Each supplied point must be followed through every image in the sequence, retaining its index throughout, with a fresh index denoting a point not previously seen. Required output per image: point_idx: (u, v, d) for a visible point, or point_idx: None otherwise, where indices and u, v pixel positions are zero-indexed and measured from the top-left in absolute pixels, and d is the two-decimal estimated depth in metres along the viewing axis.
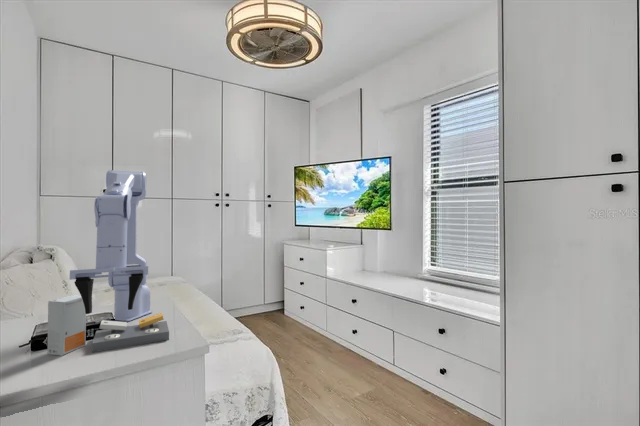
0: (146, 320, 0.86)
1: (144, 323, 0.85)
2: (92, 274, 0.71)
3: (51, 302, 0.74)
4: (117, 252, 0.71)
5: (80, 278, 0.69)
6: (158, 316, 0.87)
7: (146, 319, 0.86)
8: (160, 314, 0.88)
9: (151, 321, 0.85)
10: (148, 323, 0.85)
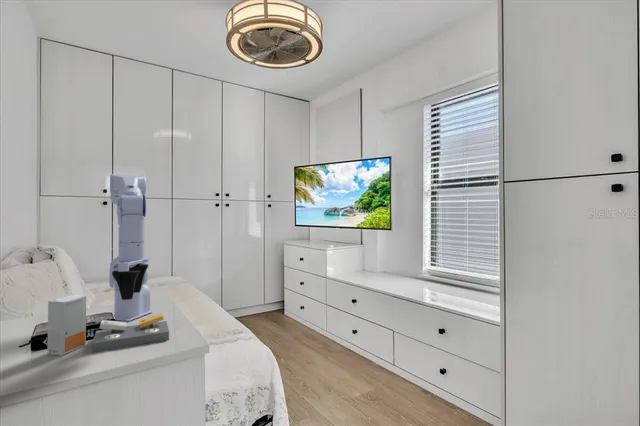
0: (146, 320, 0.86)
1: (144, 323, 0.85)
2: (128, 265, 0.81)
3: (51, 302, 0.74)
4: None
5: (129, 269, 0.79)
6: (158, 316, 0.87)
7: (146, 319, 0.86)
8: (160, 314, 0.88)
9: (151, 321, 0.85)
10: (148, 323, 0.85)
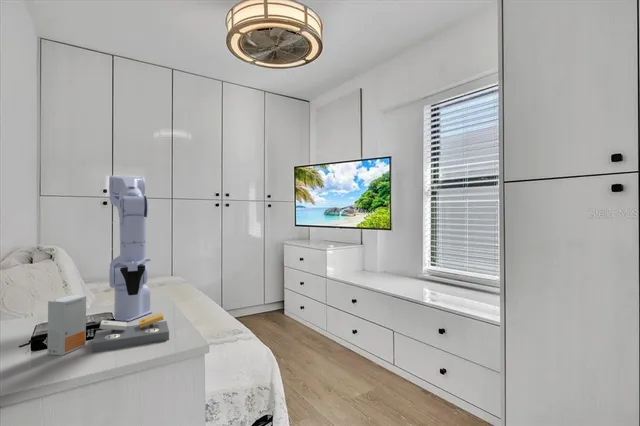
0: (146, 320, 0.86)
1: (144, 323, 0.85)
2: None
3: (51, 302, 0.74)
4: None
5: None
6: (158, 316, 0.87)
7: (146, 319, 0.86)
8: (160, 314, 0.88)
9: (151, 321, 0.85)
10: (148, 323, 0.85)
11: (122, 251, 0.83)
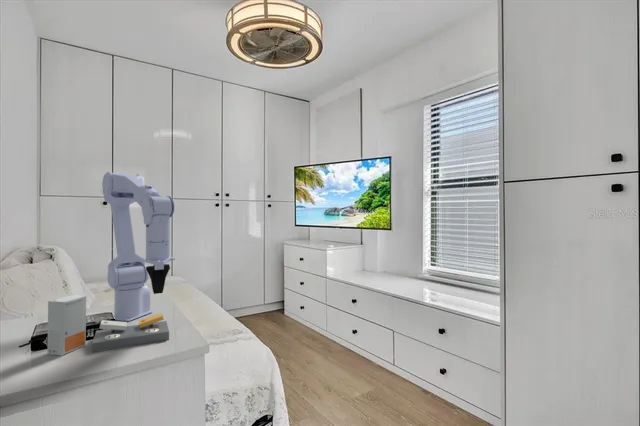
0: (146, 320, 0.86)
1: (144, 323, 0.85)
2: None
3: (51, 302, 0.74)
4: None
5: None
6: (158, 316, 0.87)
7: (146, 319, 0.86)
8: (160, 314, 0.88)
9: (151, 321, 0.85)
10: (148, 323, 0.85)
11: (148, 250, 0.85)
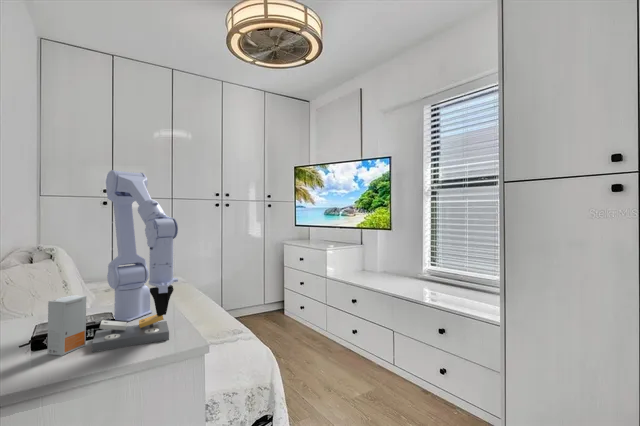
0: (146, 320, 0.86)
1: (144, 323, 0.85)
2: None
3: (51, 302, 0.74)
4: None
5: None
6: (158, 316, 0.87)
7: (146, 319, 0.86)
8: None
9: (151, 321, 0.85)
10: (148, 323, 0.85)
11: (151, 273, 0.85)
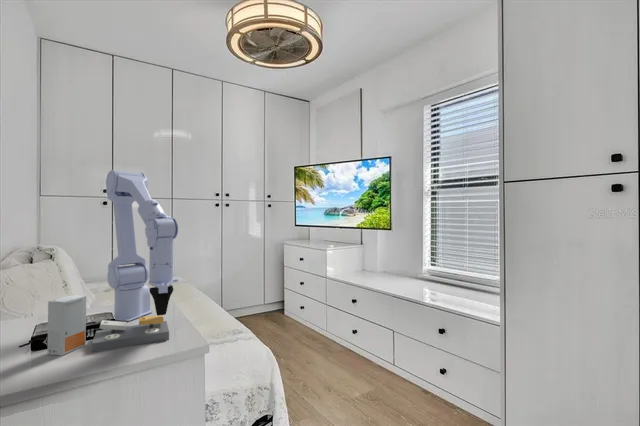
0: (147, 319, 0.86)
1: (144, 321, 0.85)
2: None
3: (51, 302, 0.74)
4: None
5: None
6: (159, 318, 0.87)
7: (147, 318, 0.86)
8: (161, 316, 0.88)
9: (151, 321, 0.85)
10: (148, 322, 0.85)
11: (151, 273, 0.85)
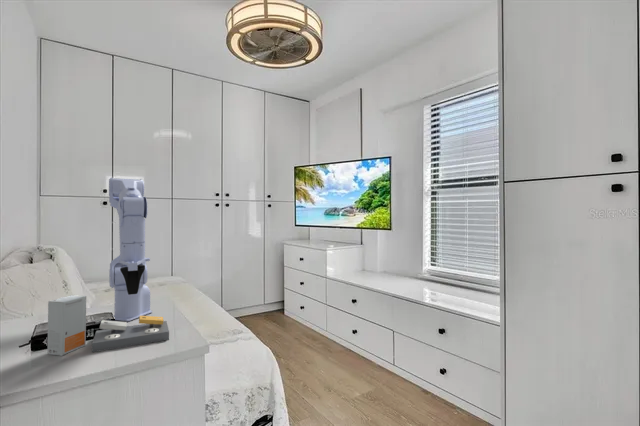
0: (147, 318, 0.86)
1: (144, 320, 0.85)
2: None
3: (51, 302, 0.74)
4: None
5: None
6: (159, 319, 0.87)
7: (147, 317, 0.87)
8: (161, 318, 0.88)
9: (151, 321, 0.85)
10: (148, 322, 0.85)
11: (122, 251, 0.85)
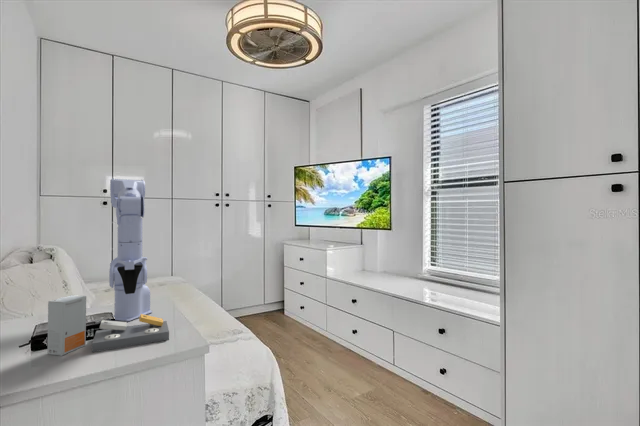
0: (148, 317, 0.86)
1: (145, 319, 0.85)
2: None
3: (51, 302, 0.74)
4: None
5: None
6: (159, 320, 0.87)
7: (148, 316, 0.87)
8: (161, 320, 0.88)
9: (151, 321, 0.85)
10: (148, 321, 0.85)
11: (119, 250, 0.85)
